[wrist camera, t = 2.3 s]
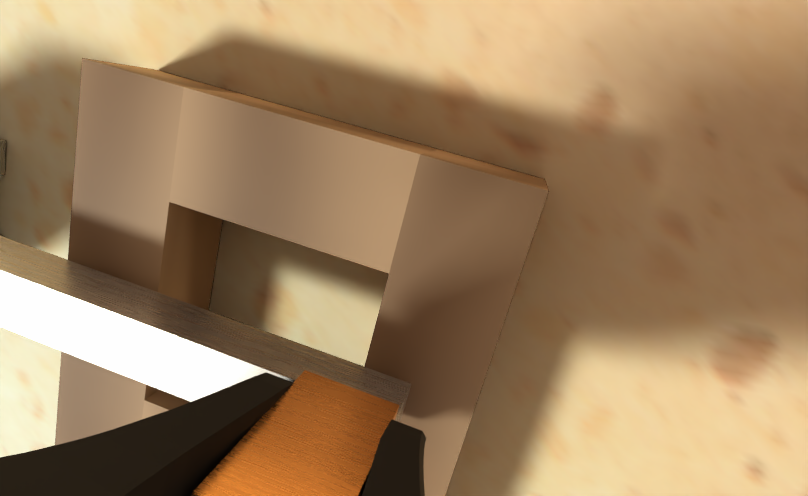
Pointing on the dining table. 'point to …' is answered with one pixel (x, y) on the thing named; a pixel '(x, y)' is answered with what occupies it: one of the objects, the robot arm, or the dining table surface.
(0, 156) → the pin mount
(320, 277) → the dining table surface
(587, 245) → the dining table surface
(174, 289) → the socket block
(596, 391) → the dining table surface
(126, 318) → the lock pin
